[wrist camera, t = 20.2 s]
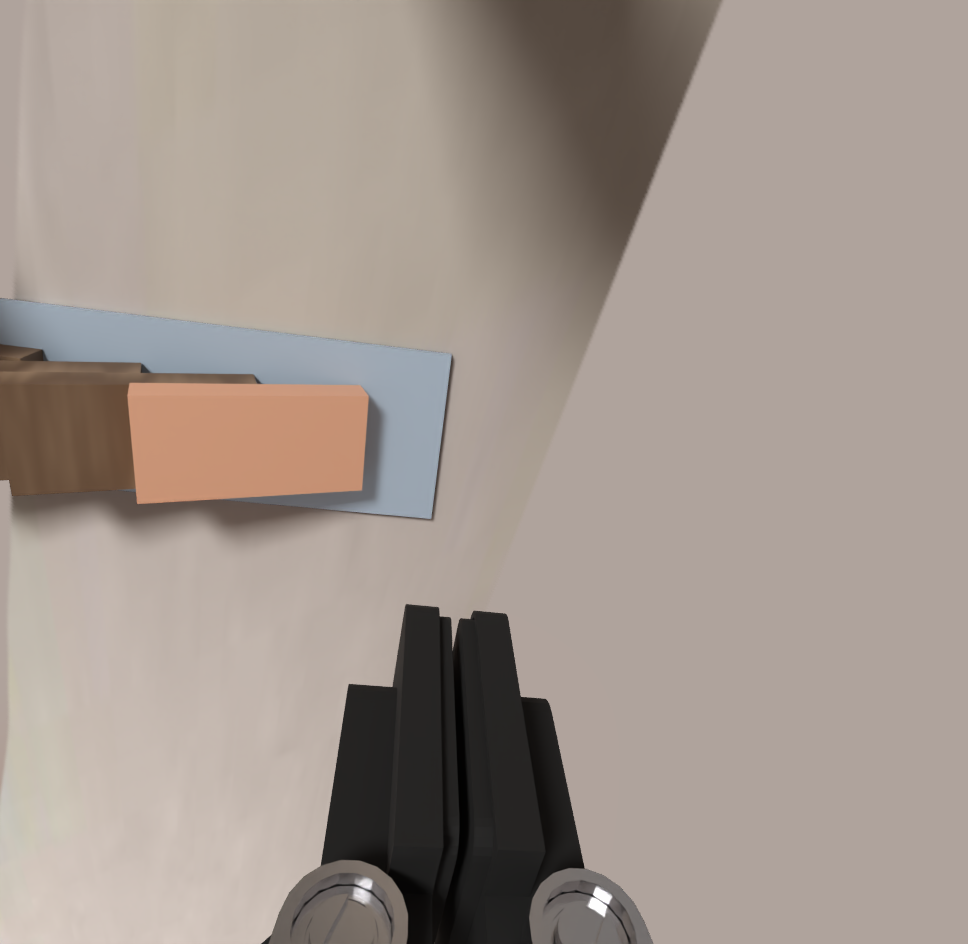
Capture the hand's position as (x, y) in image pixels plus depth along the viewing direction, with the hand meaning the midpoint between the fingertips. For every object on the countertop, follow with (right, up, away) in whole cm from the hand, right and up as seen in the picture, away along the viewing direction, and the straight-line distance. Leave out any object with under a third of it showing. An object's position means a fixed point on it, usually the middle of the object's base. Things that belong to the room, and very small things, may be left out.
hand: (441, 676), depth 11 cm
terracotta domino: (-7, +5, +28) cm, 29 cm away
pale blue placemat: (-14, +7, +28) cm, 32 cm away
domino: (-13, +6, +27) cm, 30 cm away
